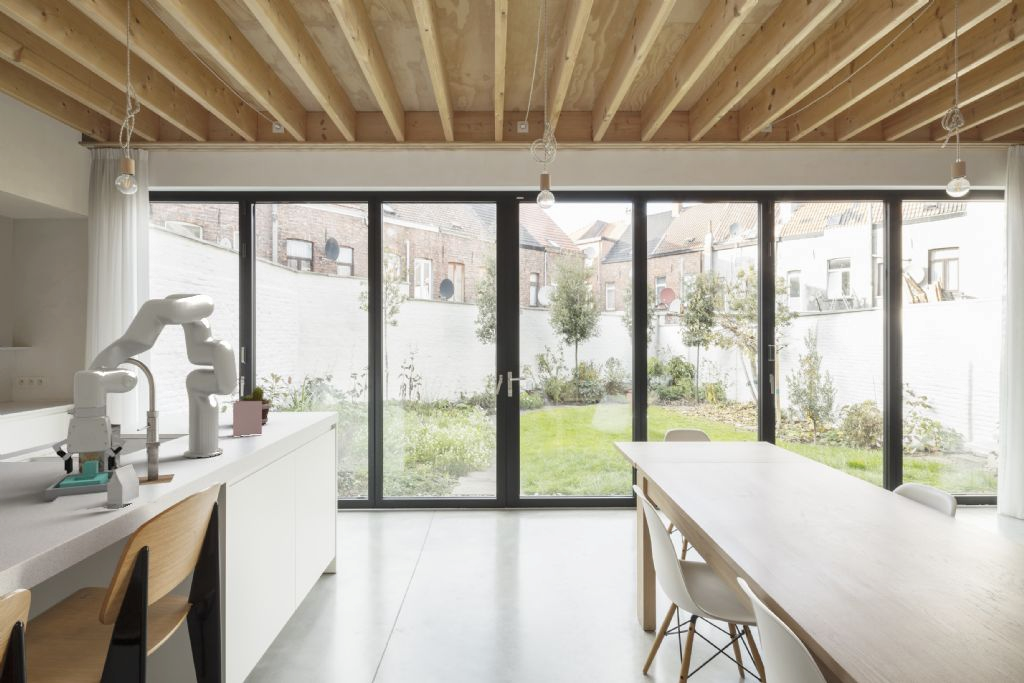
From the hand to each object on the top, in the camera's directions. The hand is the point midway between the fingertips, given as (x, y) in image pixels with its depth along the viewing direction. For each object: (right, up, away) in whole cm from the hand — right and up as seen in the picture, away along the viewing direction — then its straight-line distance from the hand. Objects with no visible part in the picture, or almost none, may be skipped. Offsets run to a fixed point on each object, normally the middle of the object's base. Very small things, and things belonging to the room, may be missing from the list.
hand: (90, 471), depth 160 cm
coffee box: (-5, -4, +10) cm, 12 cm away
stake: (+16, -5, +3) cm, 17 cm away
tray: (+2, -4, -4) cm, 6 cm away
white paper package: (+22, -5, -17) cm, 28 cm away
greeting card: (+7, -4, +78) cm, 78 cm away
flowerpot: (-2, -3, +106) cm, 107 cm away
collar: (+2, -4, -4) cm, 5 cm away
